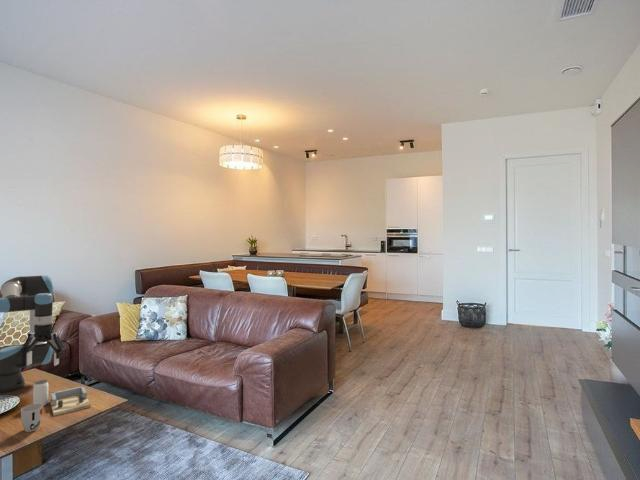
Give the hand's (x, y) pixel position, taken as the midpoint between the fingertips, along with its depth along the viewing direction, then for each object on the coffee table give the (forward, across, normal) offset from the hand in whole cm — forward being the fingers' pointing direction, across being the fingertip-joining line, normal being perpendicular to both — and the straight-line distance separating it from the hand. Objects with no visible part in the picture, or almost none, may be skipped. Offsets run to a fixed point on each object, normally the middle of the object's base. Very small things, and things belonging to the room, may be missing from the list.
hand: (42, 364), depth 193 cm
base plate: (+23, +10, +6) cm, 26 cm away
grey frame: (+21, +8, +9) cm, 25 cm away
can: (+23, -5, +6) cm, 25 cm away
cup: (+23, +8, -20) cm, 32 cm away
